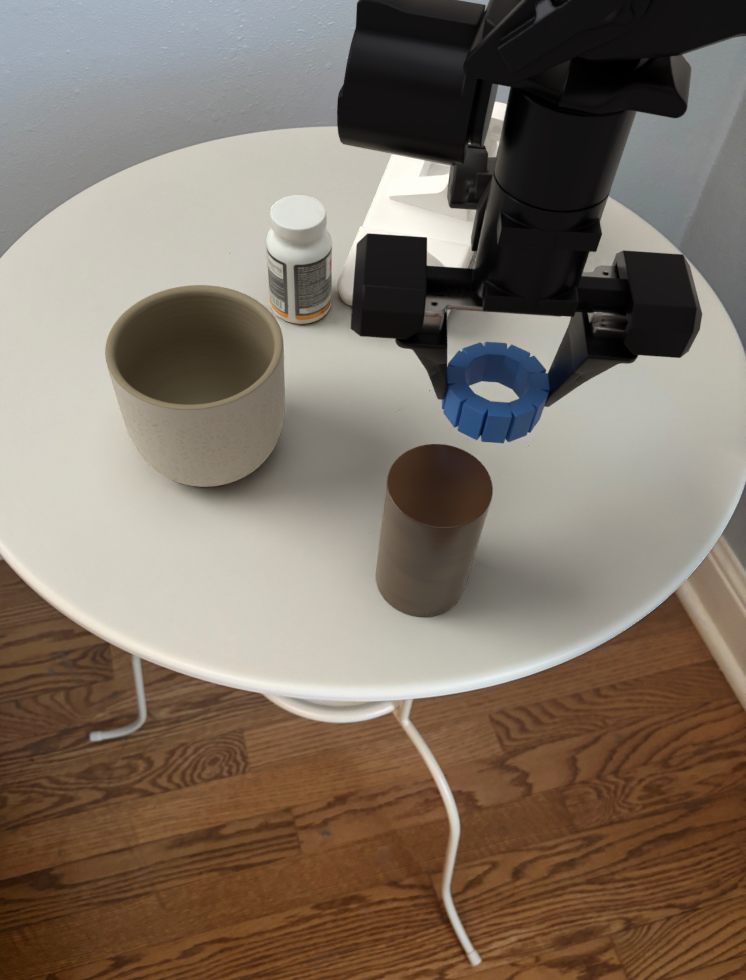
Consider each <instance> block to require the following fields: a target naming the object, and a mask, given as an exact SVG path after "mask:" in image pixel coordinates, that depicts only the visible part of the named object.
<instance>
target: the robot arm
mask: <svg viewBox="0 0 746 980" xmlns="http://www.w3.org/2000/svg"><path fill="white" fill-rule="evenodd" d="M739 37H746V0H488V3H487V5H486V4H484V3H483V4H482V3H478V2H471V1H466V0H358V1H357V3H356V15H355V29H354V32H353V36H352V39H351V42H350V46H349V50H348V55H347V60H346V65H345V71H344V78H343V83H342V86H341V88H340V89H339V92H338V95H337V105H336V106H337V107H336V127H337V135H338V138H339V142H340V143H341V144H342V145H344V146H350V147H354V148H355V147H356V148H358V149H359V148H360V149H364V150H369V151H376V152H379V153H385V154H390V155H392V154H395V155H400V156H405V157H410V158H415V159H420V160H425V161H430V162H435V163H440V164H445V165H450V173H449V181H448V190H447V199H448V204H449V207H450V208H455V209H470V210H476V214H475V219H474V224H473V230H472V235H471V250H472V251H474V252H476V256H475V259H474V265H473V268H470V267H468V268H455V267H440V266H427V237H415V236H400V235H386V234H371V233H367V234H366V235H365V236H364V237H363V238H362V239H361V240H360V241H359V242H358V243H357V247H356V259H355V272H354V284H353V298H352V306H351V317H350V329H351V330H352V331H353V332H354V333H356V334H357V336H359V337H362V338H363V337H364V338H378V339H379V338H381V339H394V342H395V344H396V346H397V347H399V348H400V349H405V350H412V351H413V353H414V354H415V356H416V357H417V359H418V360H419V361H420V363H421V364H422V365H423V367H424V369H425V371H426V373H427V375H428V377H429V380H430V383H431V385H432V388H433V392H434V393H435V397H436V398H437V400H439V401H442V400H443V399H444V397H445V394H446V391H447V367H448V344H449V343H448V318H447V310H449V309H451V310H453V311H454V310H456V311H469V312H483V313H498V314H499V313H500V314H511V315H513V314H515V315H529V316H542V317H543V316H544V317H559V318H560V317H567V318H568V317H570V319H569V323H568V325H567V328H566V330H565V332H564V334H563V337H562V338H561V339H562V340H561V342H560V344H559V346H558V349H557V351H556V353H555V356H554V357H553V360H552V362H551V365H550V367H549V370H548V372H547V373H548V379H549V388H550V390H549V392H548V393H549V394H548V397H547V400H546V403H545V406H544V408H550V407H551V406H552V405H554V404H555V403H557V402H558V401H559V400H561V399H562V398H564V397H565V396H567V395H568V394H569V393H571V392H573V391H574V390H575V389H577V388H578V387H580V386H582V385H583V384H585V383H586V382H588V381H589V380H591V379H594V378H595V377H597V376H599V375H601V374H602V373H604V372H606V371H608V370H610V369H611V368H613V367H615V366H617V365H621V364H626V365H630V364H633V363H634V362H635V361H636V360H637V359H638V358H639V356H647V357H659V358H660V357H661V358H675V359H681V358H682V357H684V356H685V355H686V354H688V353H689V352H690V349H691V348H692V346H693V345H694V342H695V340H696V338H697V336H698V334H699V332H700V330H701V325H702V319H703V311H702V308H701V307H702V306H701V304H700V300H699V299H700V298H699V296H698V291H697V288H696V284H695V279H694V276H693V272H692V268H691V264H689V261H688V260H687V258H686V257H685V254H683V253H667V252H652V251H640V250H639V251H638V250H623V249H622V250H621V251H618V252H616V253H615V255H614V259H613V261H612V264H611V265H599V266H596V267H595V268H594V270H592V271H584V270H585V267H586V264H587V262H588V259H589V256H590V253H591V252H592V253H596V252H597V251H598V248H599V246H600V242H601V239H602V236H603V232H602V226H601V220H602V217H603V214H604V211H605V208H606V205H607V201H608V199H609V196H610V193H611V190H612V187H613V183H614V180H615V178H616V175H617V171H618V169H619V165H620V163H621V159H622V156H623V154H624V151H625V148H626V145H627V142H628V139H629V137H630V136H629V135H630V134H631V129H632V128H633V124H634V121H635V118H636V115H637V113H643V114H649V115H654V116H659V117H665V118H671V119H680V118H682V117H683V116H684V115H685V114H686V112H687V110H688V105H689V96H690V86H691V79H692V66H691V64H690V63H689V61H688V60H687V59H686V58H685V57H684V55H685V54H688V53H691V52H694V51H698V50H701V49H704V48H707V47H710V46H712V45H716V44H720V43H722V42H725V41H728V40H732V39H735V38H739ZM499 86H503V87H508V88H509V92H508V95H507V96H508V97H507V102H506V104H507V106H506V111H505V116H504V121H503V126H502V131H501V136H500V141H499V146H498V151H497V156H496V157H489V158H488V152H487V150H486V147H485V146H484V145H483V144H484V142H485V139H486V135H487V132H488V128H489V124H490V121H491V117H492V112H493V108H494V104H495V102H496V98H497V95H498V89H499ZM468 143H471V144H468Z"/></svg>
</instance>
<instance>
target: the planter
mask: <svg viewBox="0 0 746 980" xmlns="http://www.w3.org/2000/svg"><path fill="white" fill-rule="evenodd" d="M284 348H285V345H284V337H283V332H282V328H281V326H280V324H279V322H278V320H277V319H276V317H275V316H274V314H273V313H272V312H271V311H270V310H269V309H268V308H267V307H266V306H265V305H264V304H262V303H261V302H260V301H258V300H257V299H255V298H254V297H252V296H250V295H248V294H246V293H243V292H241V291H239V290H235V289H231V288H228V287H224V286H217V285H208V284H207V285H206V284H205V285H204V284H192V285H184V286H183V285H181V286H177V287H171V288H168V289H164V290H160V291H158V292H156V293H153V294H150V295H148V296H146V297H144V298H142V299H140V300H139V301H137V302H136V303H134V304H133V305H131V306H130V307H129V308H127V309H126V310H125V311H124V312H123V313H122V314H121V315H120V316H119V317H118V318H117V320H116V321H115V322H114V324H113V325H112V327H111V329H110V331H109V333H108V335H107V338H106V342H105V347H104V356H105V357H104V358H105V364H106V367H107V371H108V375H109V378H110V381H111V384H112V388H113V390H114V394H115V397H116V400H117V404H118V406H119V407H118V408H119V411H120V414H121V416H122V420H123V422H124V425H125V428H126V432H127V434H128V437H129V438H130V440H131V442H132V443H133V446H134V448H135V449H136V451H137V452H138V454H139V455H140V457H142V459H143V460H144V461H145V462H146V463H147V464H148V465H149V466H151V468H152V469H153V470H155V471H156V472H158V473H159V474H160V475H161V476H163V477H165V478H167V479H169V480H171V481H174V482H177V483H179V484H183V485H187V486H192V487H202V488H203V487H204V488H205V487H206V488H208V487H217V486H223V485H229V484H231V483H234V482H236V481H239V480H241V479H244V478H245V477H248V476H249V475H250V474H252V473H253V472H255V471H256V470H257V469H258V468H260V466H262V465H263V463H265V461H266V460H267V459H268V458H269V457H270V455H271V454H272V452H273V451H274V449H275V447H276V445H277V443H278V441H279V438H280V435H281V432H282V429H283V425H284V424H283V423H284V417H285V405H286V404H285V403H286V402H285V401H286V395H285V394H286V387H285V385H286V382H285V349H284Z"/></svg>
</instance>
